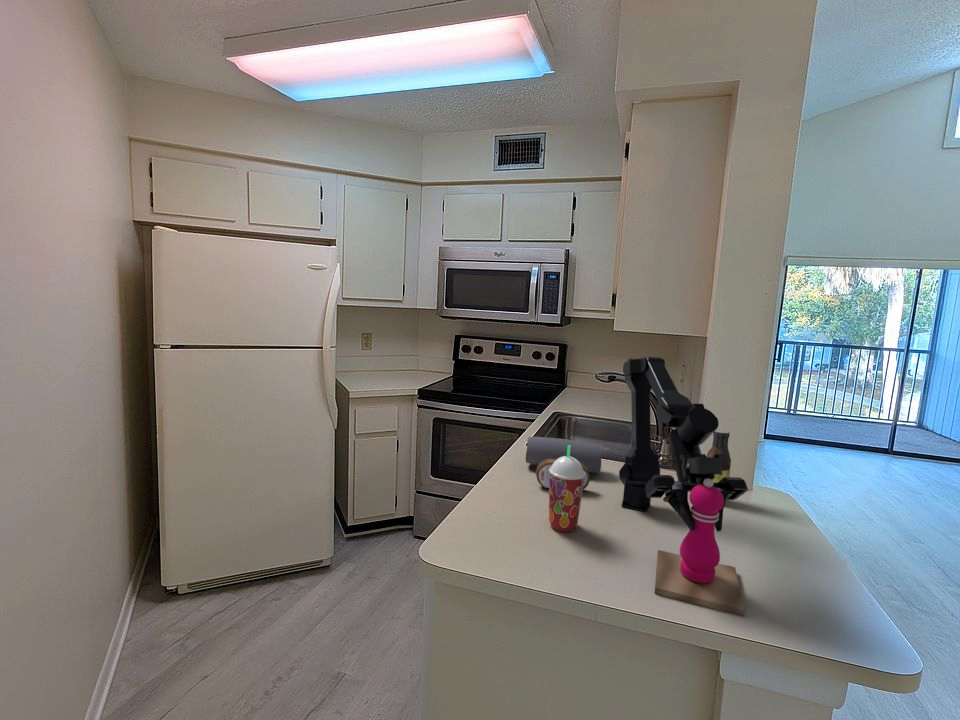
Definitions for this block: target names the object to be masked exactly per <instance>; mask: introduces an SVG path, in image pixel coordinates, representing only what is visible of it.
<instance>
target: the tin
mask: <svg viewBox="0 0 960 720" xmlns="http://www.w3.org/2000/svg"><path fill="white" fill-rule="evenodd" d="M556 460H557V459H546V460H544V461H542V462H541V463H540V464H539V465H537V466H536V470H535V475H536V479H537V483H538V484H539V485H540V486H541V487H543V489H544V488H545V489H546V488H549V468H551V466H552V464H553V463H554V462H555V461H556ZM580 464H581V465H582V468H583V471H584V472H585V477H584V484H583V490H585V489H586V488H587V487H588V486H589V483H590V479H591V476H590V475H591V474H590V472H589V470H588V468H587V467H586V466H585V465H584V464H583V463H581V462H580Z"/></svg>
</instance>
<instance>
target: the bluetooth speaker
mask: <svg viewBox="0 0 960 720" xmlns="http://www.w3.org/2000/svg"><path fill="white" fill-rule="evenodd" d="M526 444H527V445H526V452H525V463H526V464H529V465H535V466H538V465H539V464H540V463H541V462H542V461H544V460H546V459H558V458H560V457H563V456H567V449H568V445H570V446H571V447H570V456H571V457H573V458H575V459H577V460H578V461H579V462H581V463H583V464H584V465H585V466H586V467H587V468H588V470H589V473H601V470H602V453H603V445H602V444H598V443H594V442H587V441H580V440H574V439H567V438H565V439H564V438H556V437H547V436H546V437H544V436H528V437H527V443H526Z"/></svg>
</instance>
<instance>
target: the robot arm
mask: <svg viewBox="0 0 960 720" xmlns="http://www.w3.org/2000/svg"><path fill="white" fill-rule="evenodd" d="M622 373H623V375H624V382H625V384H626V386H627V387H628V389H629V391H630V393H631V394H630V395H631V447H630V448H629V450H628V452H627V453H626V455H625V462H624V464H623V465H622V466H621V468H620V469H619V471H618V478H619V480H620V482H621V483H622V484H623V494H622V502H621V507H622V508H627V509H632V510H635V511H641V512H648V508H650V507H651V500H652V499H653V498H654V499H661V498H662V497H663V496H664V495H665V496H664V497H663V498H662V501H663V503H664V502H665V503H667V504H669V506H670V507H672V508H673V510H674V511H675V512H676V513H677V514H678V515H679V517H680V518H681V520H682V521H683V523H685V525H686V527H687V528H688V529H689V531H690V530H691V531H693V530H695V526H694V521H693V517H692V514H691V507H690V504H689V500H688V499H689V496H688V495H689V493H690V492H691V490H692V489H693V488H694V487H695V486H697V485H701V484H704V483H703V482H704V480H705V479H706V478H710V479H714V478H715V476H714V474H719V475H722V471H727V470H729V469H730V470H731V467H730V462H729V459H728V457H727V454H715V455H714V458H711V457H707V454H705V453H702V451H701V448H700V445H704V443H705V442H706V441H707V440H708V439H709V438H710V437H711V435H713V432H714V431H715V430H716V429H718V428H719V419H718V417H717V416H716V414H714V413H713V412H712V411H710V410H709V409H708V408H705V405H704V403H698V402H697V403H696V402H695V403H692V402H691V400H690V399H689V398H688V397H687V396H685V395H683V394H682V393H680V392H679V390H678V389H677V387H676V385H675V383H674V381H673V379H672V377H671V375H670V373H669V372H668V368H666V362H665V359H664V358H662V357H659V356H645V357H641V358H629V357H628V359H627V361H625V362H624V363H623V366H622ZM651 391H653V393H654V396H655V399H656V400H657V403H658V406H657V408H656V419H657V421H658V423H659V424H660V426H661V427H662V428H668V429H669V428H671V429H672V430H671V431H670V432H669V433H668V435H667V437H666V439H665V444H666V445H669V448H670V452H671V456H672V461H673V463H672V464H671V469H672V470H675V473H676V477H677V480H675V478H674V476H673V475H669V474H661V469H660V465H659V460H660V458H659V455H658V454H657V453H655V451H654V449H653V448H652V438H651V437H652V436H651V433H652V432H651V430H652V428H651V427H652V425H651ZM713 486H714V487H716V488H717V489H718V490H719V491H720V492H721V493H722V495H723V498H724V504H723V507H722V509H720V510H719V511H718V512H719V516H718V518H719V520H718V521H717V522H715V526H714V529H715V530H716V532H721V531H722V529H723V518H724V508H725V503H726V502H727V501H734V500H737V499H739V497H741V496H743V495H744V494H745V493H747V492H748V491H749V487H748V485H747V482H746V480H745V479H744V478H742V477H735V476H734V477H733V476H730V477H724V478H723V479H722V480H720V481H719V482H718V483H714V485H713ZM725 501H726V502H725Z"/></svg>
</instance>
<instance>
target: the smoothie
mask: <svg viewBox="0 0 960 720" xmlns="http://www.w3.org/2000/svg"><path fill="white" fill-rule="evenodd" d="M570 447H571V446H570V445H568V449H567V456H563V457H560V458H558V459H557V460H556V461H555V462H554V463H553V464H552V466H551V468H549V489H548V521H549V523H550V527H551V528H553V529H554V530H556V531H558V532H565V533H569V532H572V531H574V530H575V528H576V526H577V525H578V523H579V522H578V521H579V517H580V510H581V503H582V497H583V492H584V491H583V490H584V489H583V484H584V477H585V472H584V471H583V468H582V465H581V464H580V462H579V461H578V460H577V459H575V458H573V457H571V456H570Z"/></svg>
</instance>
